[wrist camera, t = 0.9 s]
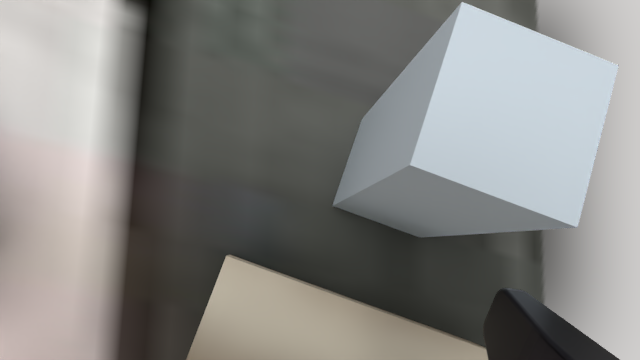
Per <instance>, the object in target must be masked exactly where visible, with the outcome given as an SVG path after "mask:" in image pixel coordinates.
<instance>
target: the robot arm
mask: <svg viewBox="0 0 640 360" xmlns="http://www.w3.org/2000/svg"><path fill="white" fill-rule="evenodd" d="M483 336H484V341H485V346H486V351H487V356H488V360H619V359H618V358H617V357H615V356H614V355H613V354H611V353H610V352H608V351H607V350H606V349H604V348H603V347H601V346H600V345H599V344H597V343H596V342H595V341H593V340H592V339H590V338H589V337H588V336H586V335H585V334H583V333H582V332H581V331H579V330H578V329H577V328H575V327H574V326H572V325H571V324H570V323H568V322H567V321H565V320H564V319H563V318H561V317H560V316H558V315H557V314H556V313H554V312H553V311H551V310H550V309H549V308H547V307H546V306H545V305H543V304H542V303H540V302H539V301H538V300H536V299H535V298H534V297H532V296H531V295H529V294H528V293H527V292H525V291H523V290H517V289H509V288H502V289H500V290H499V291H498V292H497V294H496V296H495V298H494V300H493V303H492V305H491V307H490V310H489V312H488V315H487V317H486V319H485V322H484V326H483Z"/></svg>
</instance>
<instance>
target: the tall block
mask: <svg viewBox="0 0 640 360" xmlns="http://www.w3.org/2000/svg"><path fill="white" fill-rule="evenodd" d="M618 66H619V65H617V64H614V63H612V62H609V61H607V60H604V59H602V58H599V57H597V56H594V55H592V54H589V53H587V52H585V51H582V50H580V49H577V48H575V47H572V46H570V45H567V44H565V43H562V42H559V41H557V40H555V39H552V38H550V37H547V36H545V35H542V34H540V33H538V32H535V31H533V30H530V29H528V28H525V27H523V26H520V25H518V24H515V23H513V22H510V21H508V20H505V19H503V18H501V17H498V16H496V15H493V14H491V13H488V12H486V11H483V10H481V9H478V8H476V7H473V6H471V5H468V4H466V3H463V2H462V3H461V4H460V5H459V6H458V7H457V8H456V10H455V11H454V12H453V13H452V14H451V15H450V17H449V18H448V19H447V20H446V21H445V22H444V24H443V25H442V26H441V27H440V28H439V29H438V31H437V32H436V33H435V34H434V35H433V36H432V38H431V39H430V40H429V41H428V42H427V44H426V45H425V46H424V47H423V48H422V49H421V51H420V52H419V53H418V54H417V55H416V56H415V58H414V59H413V60H412V61H411V62H410V63H409V65H408V66H407V67H406V68H405V69H404V70H403V72H402V73H401V74H400V75H399V76H398V77H397V79H396V80H395V81H394V82H393V83H392V84H391V86H390V87H389V88H388V89H387V90H386V91H385V93H384V94H383V95H382V96H381V97H380V98H379V100H378V101H377V102H376V103H375V104H374V105H373V107H372V108H371V109H370V110H369V111H368V112H367V114H366V115H365V116H364V117H363V118H362V120H361V123H360V126H359V129H358V132H357V135H356V138H355V141H354V144H353V147H352V150H351V152H350V155H349V158H348V161H347V164H346V167H345V170H344V173H343V176H342V179H341V182H340V185H339V188H338V190H337V193H336V196H335V199H334V202H333V205H332V206H334V207H337V208H339V209H342V210H345V211H348V212H351V213H353V214H356V215H359V216H362V217H364V218H367V219H370V220H373V221H375V222H378V223H381V224H384V225H386V226H389V227H392V228H395V229H398V230H400V231H403V232H406V233H409V234H411V235H414V236H417V237H420V238H423V237H438V236H454V235H469V234H485V233H500V232H516V231H531V230H546V229H562V228H577V227H578V224H579V220H580V216H581V212H582V208H583V204H584V200H585V196H586V192H587V188H588V184H589V180H590V176H591V172H592V169H593V165H594V161H595V157H596V152H597V149H598V145H599V141H600V137H601V133H602V129H603V125H604V121H605V117H606V113H607V109H608V105H609V102H610V97H611V94H612V89H613V86H614V81H615V78H616V74H617V70H618Z"/></svg>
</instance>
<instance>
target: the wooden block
mask: <svg viewBox="0 0 640 360" xmlns="http://www.w3.org/2000/svg"><path fill="white" fill-rule="evenodd" d="M186 360H488V356H487V351H486V348H485V347H483V346H480V345H478V344H475V343H473V342H471V341H468V340H465V339H462V338H460V337H457V336H454V335H451V334H449V333H446V332H443V331H440V330H438V329H435V328H432V327H429V326H427V325H424V324H421V323H418V322H415V321H413V320H410V319H407V318H404V317H402V316H399V315H396V314H393V313H391V312H388V311H385V310H382V309H379V308H377V307H374V306H371V305H368V304H366V303H363V302H360V301H357V300H355V299H352V298H349V297H346V296H344V295H341V294H338V293H335V292H332V291H330V290H327V289H324V288H321V287H319V286H316V285H313V284H310V283H308V282H305V281H302V280H299V279H296V278H294V277H291V276H288V275H285V274H283V273H280V272H277V271H274V270H272V269H269V268H266V267H263V266H260V265H258V264H255V263H252V262H249V261H247V260H244V259H241V258H238V257H236V256H233V255H227V256H226V258H225V261H224V263H223V266H222V268H221V271H220V274H219V276H218V279H217V281H216V284H215V286H214V289H213V292H212V294H211V297H210V299H209V302H208V305H207V307H206V310H205V312H204V315H203V318H202V320H201V323H200V325H199V328H198V330H197V333H196V336H195V338H194V341H193V343H192V346H191V349H190V351H189V354H188V356H187V359H186Z"/></svg>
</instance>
